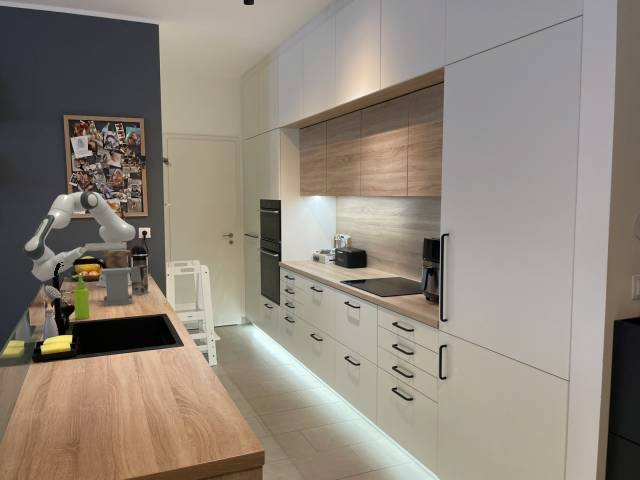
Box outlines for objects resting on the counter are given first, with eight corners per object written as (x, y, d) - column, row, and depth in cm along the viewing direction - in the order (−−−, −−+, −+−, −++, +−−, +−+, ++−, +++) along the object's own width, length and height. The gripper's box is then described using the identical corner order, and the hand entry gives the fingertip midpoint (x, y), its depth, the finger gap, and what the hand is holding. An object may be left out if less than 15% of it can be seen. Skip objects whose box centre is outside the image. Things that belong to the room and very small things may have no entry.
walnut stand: (104, 301, 265) (101, 253, 263) (104, 298, 272) (102, 251, 270) (132, 299, 270) (130, 251, 268) (132, 297, 277) (130, 250, 275)
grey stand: (102, 306, 255) (101, 271, 253) (103, 302, 262) (102, 268, 261) (132, 303, 260) (130, 269, 258) (132, 300, 267) (130, 267, 265)
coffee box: (143, 295, 282) (142, 266, 281) (131, 295, 283) (130, 266, 281) (148, 292, 291) (147, 264, 290) (137, 292, 292) (136, 264, 290)
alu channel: (85, 251, 262) (85, 244, 261) (86, 250, 265) (85, 243, 265) (126, 249, 269) (126, 242, 268) (126, 248, 272) (126, 242, 272)
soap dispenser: (70, 318, 228) (68, 275, 226) (83, 315, 234) (81, 273, 232) (78, 320, 225) (76, 276, 224) (92, 317, 231) (90, 274, 230)
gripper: (58, 257, 250) (84, 243, 253) (63, 253, 269) (87, 239, 273) (65, 268, 252) (91, 253, 255) (70, 263, 271) (94, 249, 274)
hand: (89, 246), depth 264 cm, fingers closed on alu channel, 4 cm apart
